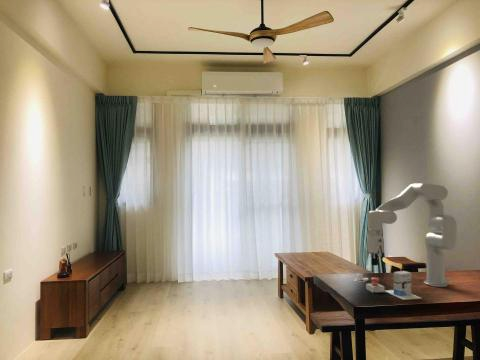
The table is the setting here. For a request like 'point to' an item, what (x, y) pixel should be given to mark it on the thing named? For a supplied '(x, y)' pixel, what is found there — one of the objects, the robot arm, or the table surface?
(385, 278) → the table surface
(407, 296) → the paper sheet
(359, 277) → the white ring with cylinder
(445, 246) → the robot arm
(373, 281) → the button
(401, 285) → the ink box
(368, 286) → the button housing
